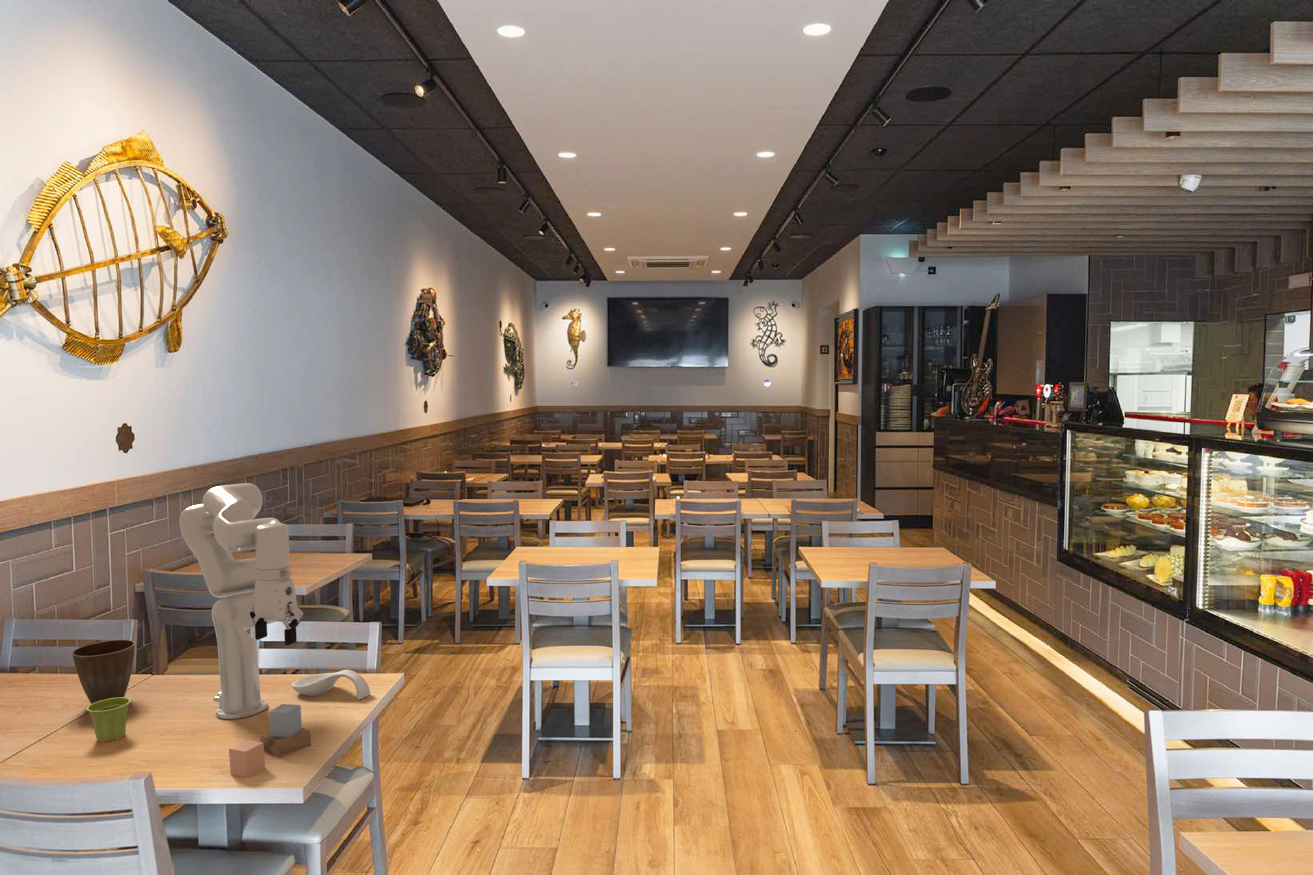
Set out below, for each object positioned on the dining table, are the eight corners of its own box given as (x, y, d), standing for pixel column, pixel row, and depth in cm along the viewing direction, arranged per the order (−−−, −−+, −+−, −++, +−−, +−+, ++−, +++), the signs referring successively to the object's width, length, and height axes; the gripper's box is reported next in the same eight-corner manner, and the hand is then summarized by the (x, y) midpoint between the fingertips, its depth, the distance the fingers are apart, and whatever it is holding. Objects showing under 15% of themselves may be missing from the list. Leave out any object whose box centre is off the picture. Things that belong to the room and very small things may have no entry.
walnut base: (261, 751, 207) (260, 735, 207) (291, 739, 214) (290, 724, 213) (280, 758, 202) (279, 742, 202) (311, 746, 209) (310, 730, 209)
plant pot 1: (149, 698, 246) (145, 643, 245) (92, 716, 233) (88, 658, 232) (122, 690, 254) (118, 637, 253) (66, 707, 241) (61, 651, 240)
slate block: (283, 727, 211) (282, 703, 211) (301, 728, 210) (300, 704, 210) (270, 736, 206) (269, 711, 206) (289, 737, 205) (288, 712, 205)
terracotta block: (230, 774, 194) (228, 748, 194) (248, 765, 199) (246, 739, 199) (247, 777, 192) (245, 751, 192) (265, 768, 197) (263, 742, 197)
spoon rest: (283, 698, 243) (281, 673, 243) (313, 683, 254) (311, 660, 254) (352, 705, 235) (350, 680, 235) (379, 691, 246) (378, 666, 246)
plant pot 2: (141, 731, 221) (139, 698, 221) (107, 746, 212) (105, 712, 212) (114, 728, 224) (112, 695, 224) (80, 742, 215) (77, 708, 215)
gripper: (311, 573, 213) (314, 640, 215) (259, 566, 219) (262, 631, 221) (288, 581, 206) (290, 650, 208) (234, 573, 213) (237, 640, 214)
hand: (275, 640), depth 214 cm, fingers open, 9 cm apart
